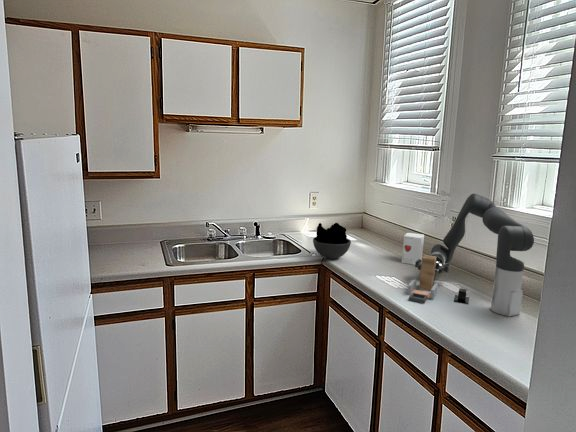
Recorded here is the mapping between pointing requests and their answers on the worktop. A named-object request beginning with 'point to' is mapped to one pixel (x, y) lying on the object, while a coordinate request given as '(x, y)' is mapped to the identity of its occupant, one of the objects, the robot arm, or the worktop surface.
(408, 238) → the supplement box
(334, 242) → the heaped charcoal-grey bowl
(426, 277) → the walnut block
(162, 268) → the worktop surface
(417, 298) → the trap pit
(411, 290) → the grey cradle
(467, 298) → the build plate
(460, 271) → the worktop surface
